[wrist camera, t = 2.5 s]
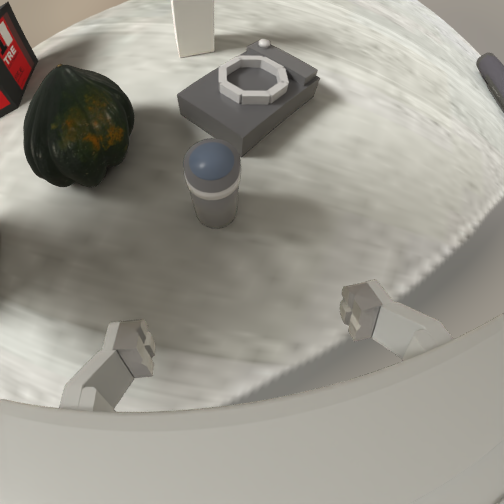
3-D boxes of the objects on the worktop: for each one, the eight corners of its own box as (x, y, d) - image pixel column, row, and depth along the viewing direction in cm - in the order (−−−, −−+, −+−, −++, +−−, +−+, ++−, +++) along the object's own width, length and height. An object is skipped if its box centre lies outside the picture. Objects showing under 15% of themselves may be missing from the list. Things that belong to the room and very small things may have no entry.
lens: (217, 238, 31) (212, 198, 21) (186, 210, 31) (169, 163, 21) (246, 207, 32) (254, 158, 22) (215, 182, 32) (211, 127, 23)
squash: (44, 225, 24) (61, 86, 16) (8, 162, 26) (23, 56, 18) (136, 193, 36) (175, 88, 27) (85, 143, 38) (111, 56, 29)
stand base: (241, 157, 33) (243, 125, 27) (180, 114, 35) (174, 81, 29) (313, 96, 37) (324, 66, 31) (256, 63, 38) (260, 33, 32)
